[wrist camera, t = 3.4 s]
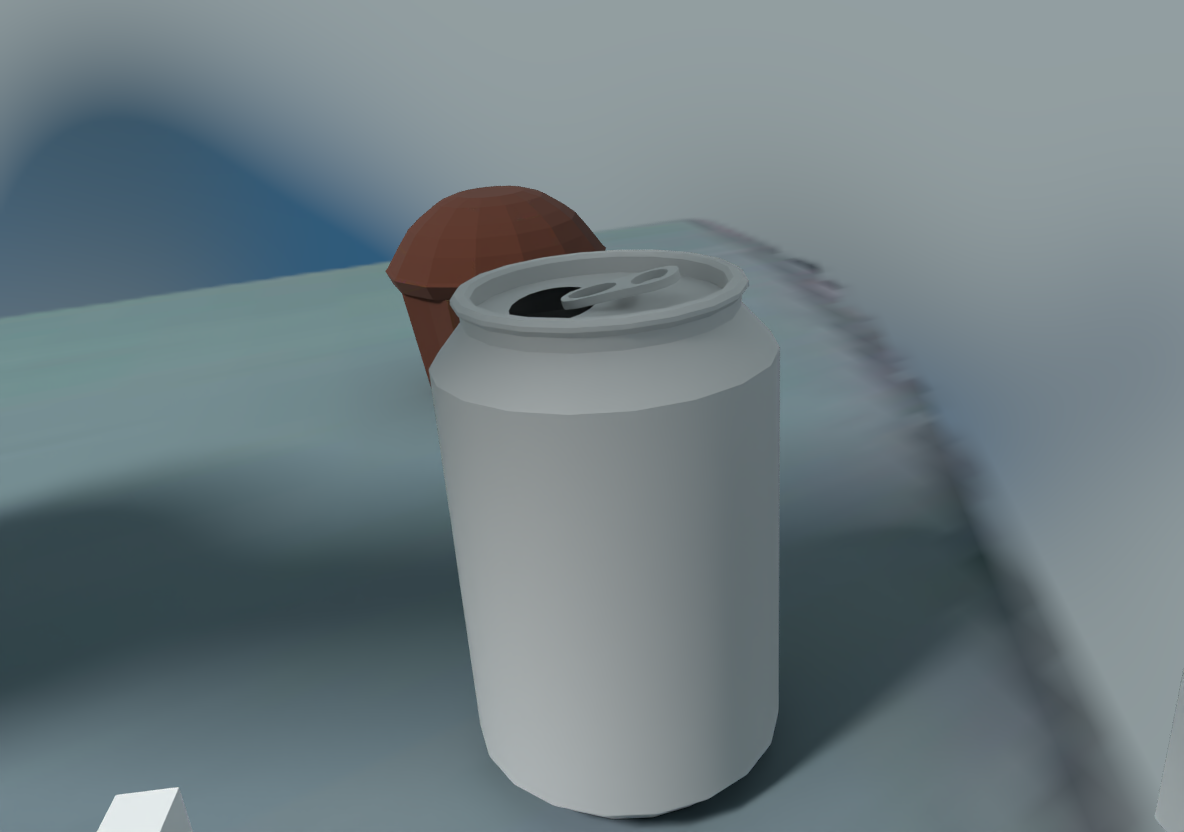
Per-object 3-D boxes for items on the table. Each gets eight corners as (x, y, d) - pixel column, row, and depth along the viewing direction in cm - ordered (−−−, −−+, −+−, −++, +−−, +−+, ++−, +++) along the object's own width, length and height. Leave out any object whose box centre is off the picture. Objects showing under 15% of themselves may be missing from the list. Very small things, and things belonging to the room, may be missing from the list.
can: (524, 637, 28) (477, 241, 23) (777, 649, 27) (778, 230, 22) (444, 832, 21) (357, 327, 17) (779, 862, 20) (782, 318, 15)
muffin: (435, 350, 56) (411, 182, 52) (617, 341, 55) (606, 169, 51) (380, 425, 45) (344, 219, 41) (606, 416, 44) (591, 204, 40)
